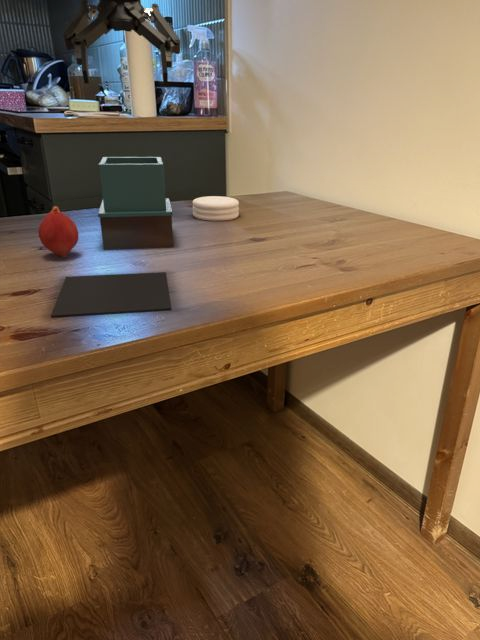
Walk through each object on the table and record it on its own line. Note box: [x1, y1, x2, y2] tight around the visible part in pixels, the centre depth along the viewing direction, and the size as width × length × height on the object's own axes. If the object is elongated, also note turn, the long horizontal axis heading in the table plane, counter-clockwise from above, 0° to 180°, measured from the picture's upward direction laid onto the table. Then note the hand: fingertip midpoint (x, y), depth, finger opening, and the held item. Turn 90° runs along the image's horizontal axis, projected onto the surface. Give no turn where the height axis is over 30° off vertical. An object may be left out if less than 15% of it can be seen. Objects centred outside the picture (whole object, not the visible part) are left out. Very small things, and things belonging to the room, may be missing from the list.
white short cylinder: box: [192, 195, 240, 222], centre depth 108 cm, size 10×10×4 cm
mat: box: [50, 271, 172, 319], centre depth 66 cm, size 14×14×1 cm
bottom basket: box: [99, 215, 174, 251], centre depth 89 cm, size 12×12×6 cm
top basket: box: [97, 156, 174, 218], centre depth 85 cm, size 12×12×8 cm
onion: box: [38, 206, 79, 258], centre depth 78 cm, size 6×6×8 cm
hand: (126, 78), depth 87 cm, fingers open, 13 cm apart
